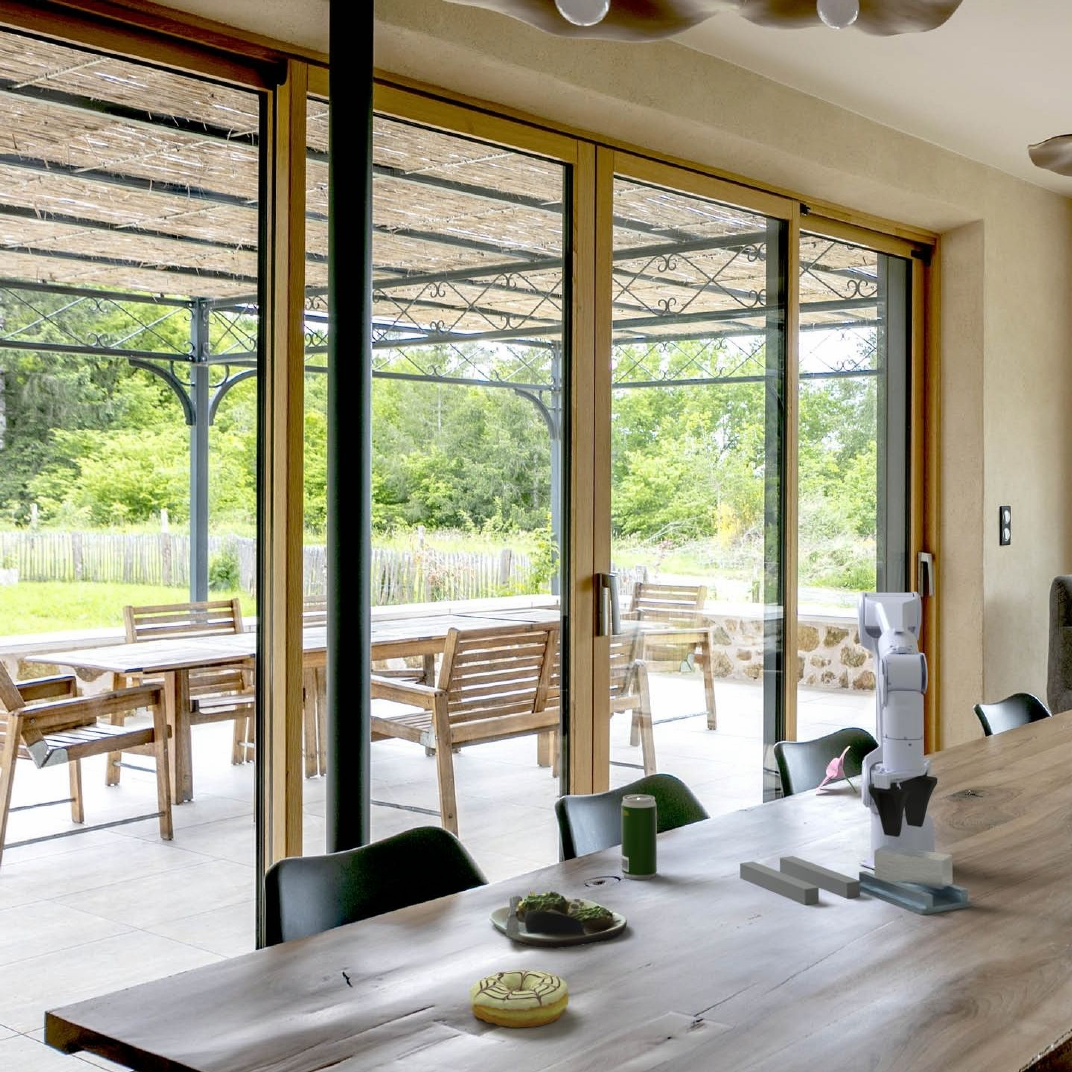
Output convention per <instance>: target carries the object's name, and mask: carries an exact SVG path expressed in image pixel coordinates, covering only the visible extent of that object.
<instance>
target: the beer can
mask: <svg viewBox="0 0 1072 1072" xmlns="http://www.w3.org/2000/svg"><path fill="white" fill-rule="evenodd" d="M655 800H656V797H655V796H654V795H651V794H639V793H638V794H627V795H624V796H622V802H621V805H620V806H621V810H620V814H621V816H620V817H621V823H620V824H621V826H620V827H621V872H622V875H623V876H624V878H627V879H630V880H636V881H638V880H639V881H640V880H641V881H642V880H643V881H645V880H650V879H653V878H655V877H656V874H657V871H658V869H657V868H658V867H657V866H658V857H657V854H658V852H657V850H658V848H657V847H658V846H657V842H658V841H657V840H658V839H657V837H658V836H657V835H658V834H657V833H658V832H657V831H658V829H657V825H658V824H657V822H658V821H657V802H656V801H655Z"/></svg>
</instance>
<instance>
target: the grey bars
mask: <svg viewBox="0 0 1072 1072" xmlns="http://www.w3.org/2000/svg"><path fill="white" fill-rule="evenodd" d="M739 878H740V879H742V880H745V881H748V882H750V883H752V884H754V885H756V886H759V887H761V888H764V889H766V890H769V891H771V892H773V893H776V894H778V895H781V896H783V897H786V898H788V899H790V900H792V901H794V902H797V903H800V904H802V905H804V906H807V905H813V904H819V903H820V901H819V900H820V894H819V892H820V891H819V889H822V890H825V891H827V892H830V893H832V894H835V895H837V896H840V897H843V898H846V899H849V898H856V897H860V896H861V892H860V881H859V879H855V878H853V877H851V876H848V875H846V874H843V873H840V872H837V871H834V870H832V869H829V868H826V867H824V866H821V865H818V864H816V863H814V862H813V863H812V862H810V861H807V860H805V859H803V858H799V857H796V856H793V855H790V856H784V857H783V856H782V857H780V858H779V871H778V870H777V869H774V868H771V867H769V866H767V865H763V864H761V863H758V862H755V861H747V862H740V863H739Z"/></svg>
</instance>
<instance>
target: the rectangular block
mask: <svg viewBox="0 0 1072 1072" xmlns="http://www.w3.org/2000/svg"><path fill="white" fill-rule="evenodd" d="M873 870H874V871H873V872H874V873H873V874H874V878H877V879H883V880H889V881H895V882H901V883H907V884H913V885H919V886H925V887H931V888H937V889H944V888H946V887H947V886H949V885H950V884H953V880H954V879H953V854H947V853H942V852H936V851H935V852H928V851H922V850H915V849H908V848H902V847H895V846H888V845H884V846H882V847H880V848H878V849H876V850H874V869H873Z"/></svg>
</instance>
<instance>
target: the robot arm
mask: <svg viewBox="0 0 1072 1072" xmlns="http://www.w3.org/2000/svg"><path fill="white" fill-rule="evenodd" d="M856 607H857V625H858V639H859V641H860V646H861V647H862V648H865V650H868V651H869V652H870V653H871V657H872V660H873V662H874V667H875V683H876V684H875V687H876V689H875V690H876V707H877V708H876V711H877V713H876V715H877V732H878V733H877V735H878V746H877V748H875V749H874V750H872V751H870V752H869V753H868V754H866V755H865V756H864V757H863V760H862V764H861V802H862V804H863V805H864V807H865V808H869V811H870V859H869V858H868V859H863V860H859V861H858V864H859V865H861V866H864V867H867V868H870V869H873V870H874V850H876V849H878V848H880V847H882V846H884V845H888V846H895V847H902V848H908V849H915V850H922V851H928V852H935V853H936V851H935V850H936V848H935V846H936V843H935V841H936V840H935V834H936V832H935V824H934V821H933V818H932V816H931V815H930V814H929V812H928V811H927V809H928V806H929V802H930V799H931V796H932V794H933V792H934V789H935V788H936V786H937V785H938V777H936V776H930V775H931V774H932V770H931V769H932V767H931V766H932V765H931V764H932V762H931V760H925V751H924V750H925V747H924V746H925V745H924V744H925V743H924V742H925V741H924V739H925V738H924V737H925V736H924V735H925V733H924V732H925V731H924V729H925V728H924V726H925V723H924V722H925V721H924V720H925V718H924V716H925V715H924V712H925V711H924V707H925V706H924V695H925V694H926V693H927V688H928V679H929V676H928V675H929V674H928V663H927V658H926V655H925V653H923V652H920V651H919V645H918V641H919V639H920V631H921V626H922V611H923V610H922V600H921V595H920V594H919V593H918V592H917V591H912V592H865V591H860V593H859V594H858V595H857V606H856ZM921 692H923V693H921Z"/></svg>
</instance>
